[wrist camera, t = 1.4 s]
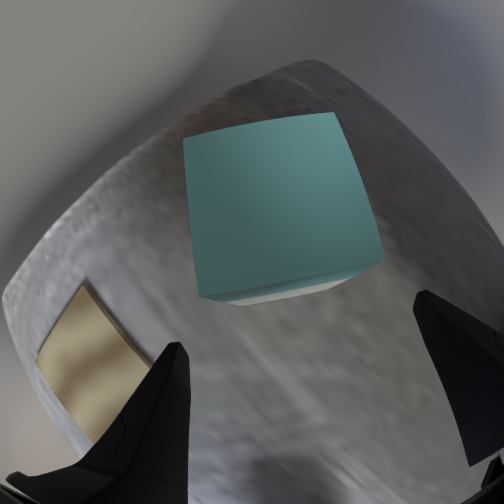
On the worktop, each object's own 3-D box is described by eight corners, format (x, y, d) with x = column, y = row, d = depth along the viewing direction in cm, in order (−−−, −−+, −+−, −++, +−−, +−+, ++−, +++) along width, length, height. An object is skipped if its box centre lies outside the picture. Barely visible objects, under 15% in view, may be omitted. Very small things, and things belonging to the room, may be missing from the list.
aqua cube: (345, 280, 16) (385, 259, 10) (229, 303, 16) (199, 296, 10) (317, 175, 18) (333, 112, 11) (212, 194, 18) (182, 138, 12)
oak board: (171, 384, 21) (166, 386, 20) (106, 448, 20) (101, 451, 19) (88, 285, 24) (82, 284, 23) (39, 360, 23) (34, 361, 22)
